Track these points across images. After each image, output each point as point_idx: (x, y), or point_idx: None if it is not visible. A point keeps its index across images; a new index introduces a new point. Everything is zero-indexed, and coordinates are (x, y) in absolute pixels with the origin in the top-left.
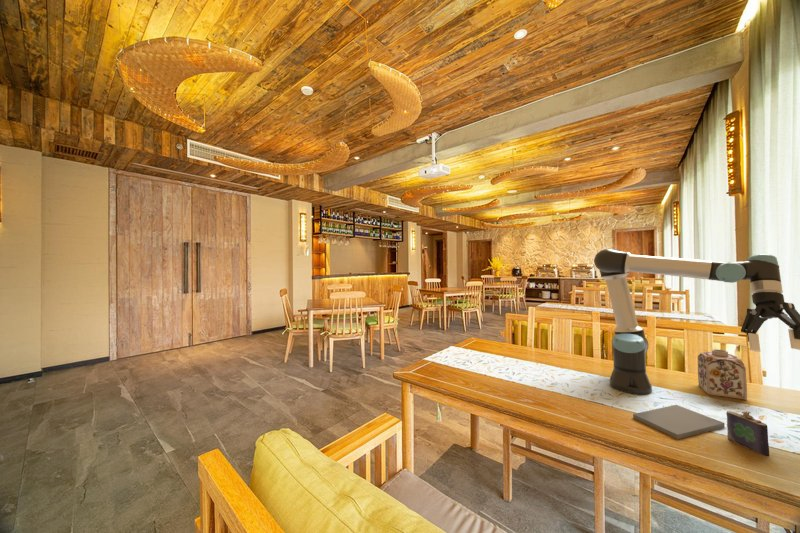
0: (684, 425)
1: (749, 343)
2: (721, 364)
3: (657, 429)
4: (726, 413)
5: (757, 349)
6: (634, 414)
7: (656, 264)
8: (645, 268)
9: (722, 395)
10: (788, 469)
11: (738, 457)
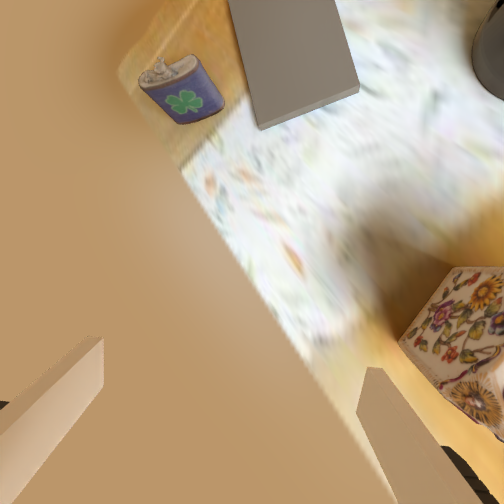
0: (256, 31)
1: (413, 411)
2: (498, 317)
3: None
4: (198, 59)
5: (365, 408)
6: None
7: None
8: None
9: (431, 296)
10: (148, 116)
11: None
